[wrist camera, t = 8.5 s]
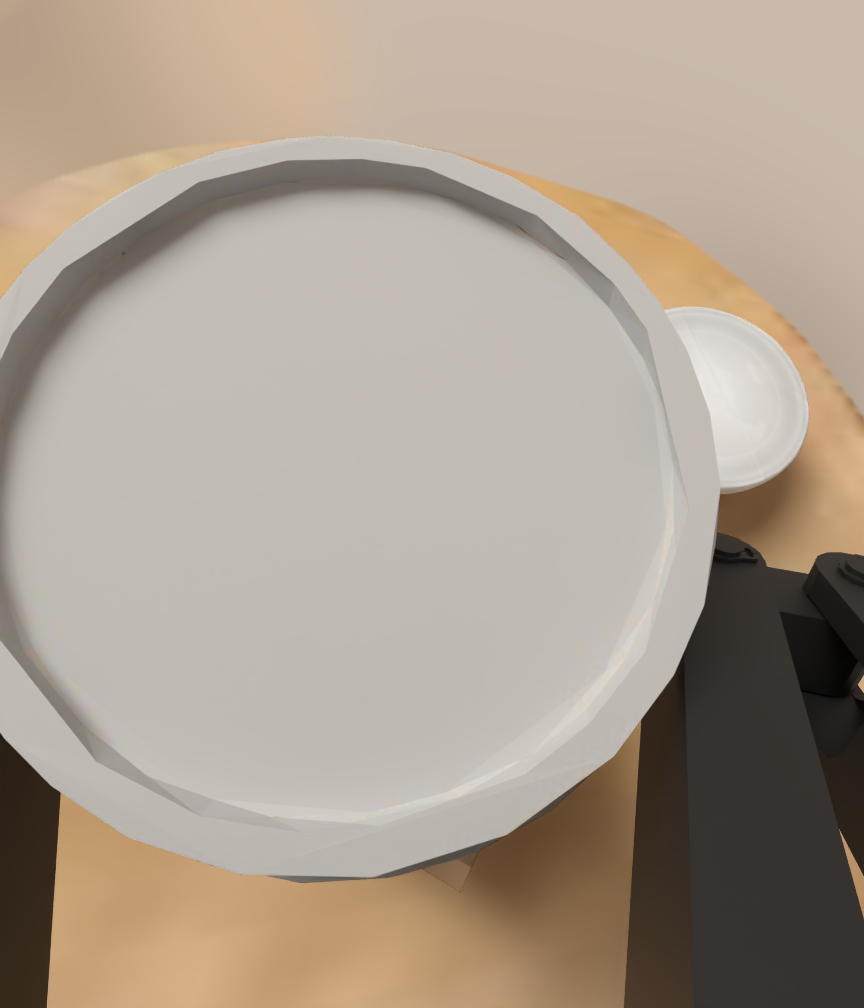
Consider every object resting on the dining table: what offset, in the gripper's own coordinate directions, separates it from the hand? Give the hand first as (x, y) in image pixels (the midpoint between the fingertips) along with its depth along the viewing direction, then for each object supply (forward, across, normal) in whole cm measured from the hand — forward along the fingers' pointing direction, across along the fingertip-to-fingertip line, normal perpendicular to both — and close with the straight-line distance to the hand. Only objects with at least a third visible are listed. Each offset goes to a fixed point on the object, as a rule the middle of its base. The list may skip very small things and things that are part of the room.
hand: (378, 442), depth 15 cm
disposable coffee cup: (0, 0, -5) cm, 5 cm away
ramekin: (+17, +18, -6) cm, 25 cm away
